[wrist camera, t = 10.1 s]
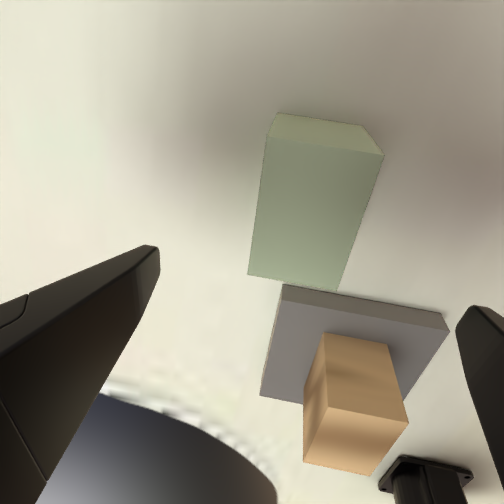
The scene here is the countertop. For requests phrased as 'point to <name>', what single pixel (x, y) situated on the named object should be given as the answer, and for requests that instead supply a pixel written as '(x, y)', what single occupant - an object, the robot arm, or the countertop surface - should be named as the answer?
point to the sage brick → (311, 199)
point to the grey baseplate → (350, 325)
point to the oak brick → (351, 405)
